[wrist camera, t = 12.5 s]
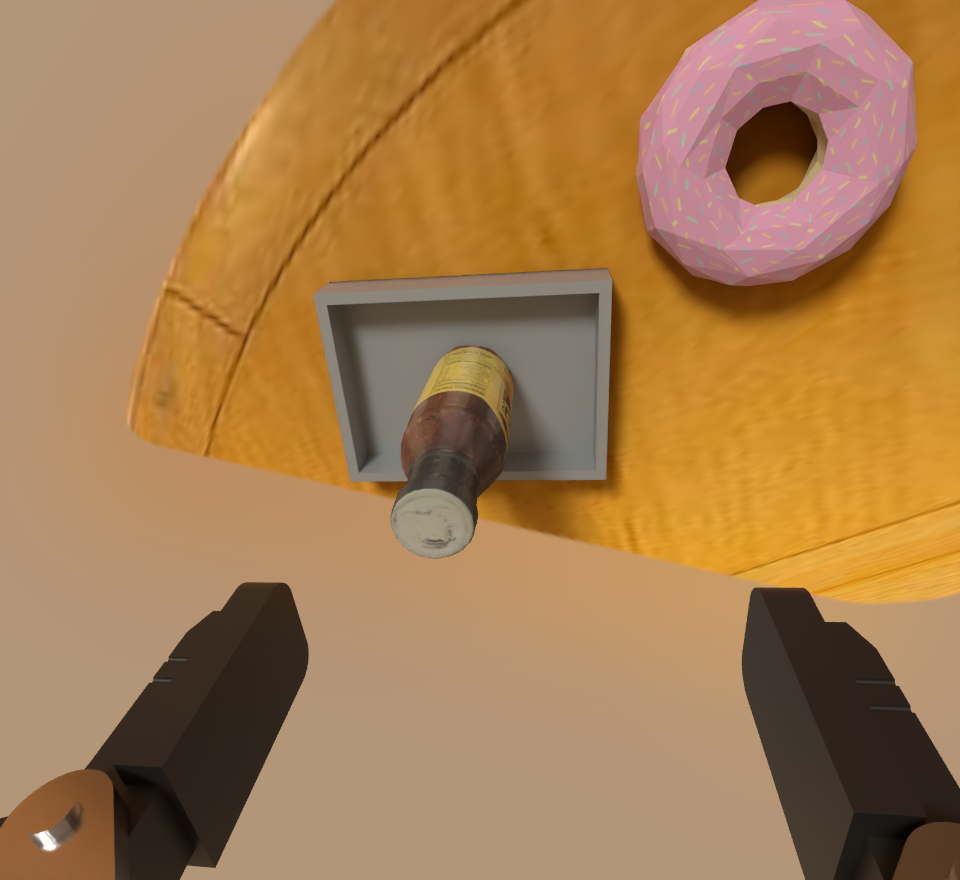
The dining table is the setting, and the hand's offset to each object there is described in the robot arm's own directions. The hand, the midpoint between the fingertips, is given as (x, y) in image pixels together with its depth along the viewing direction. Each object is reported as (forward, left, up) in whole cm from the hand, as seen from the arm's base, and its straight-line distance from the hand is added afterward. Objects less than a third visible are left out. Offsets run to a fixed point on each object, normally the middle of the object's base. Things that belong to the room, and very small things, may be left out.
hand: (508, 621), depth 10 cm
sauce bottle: (+5, +9, -35) cm, 36 cm away
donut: (-14, -5, -36) cm, 38 cm away
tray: (+5, +9, -35) cm, 37 cm away
